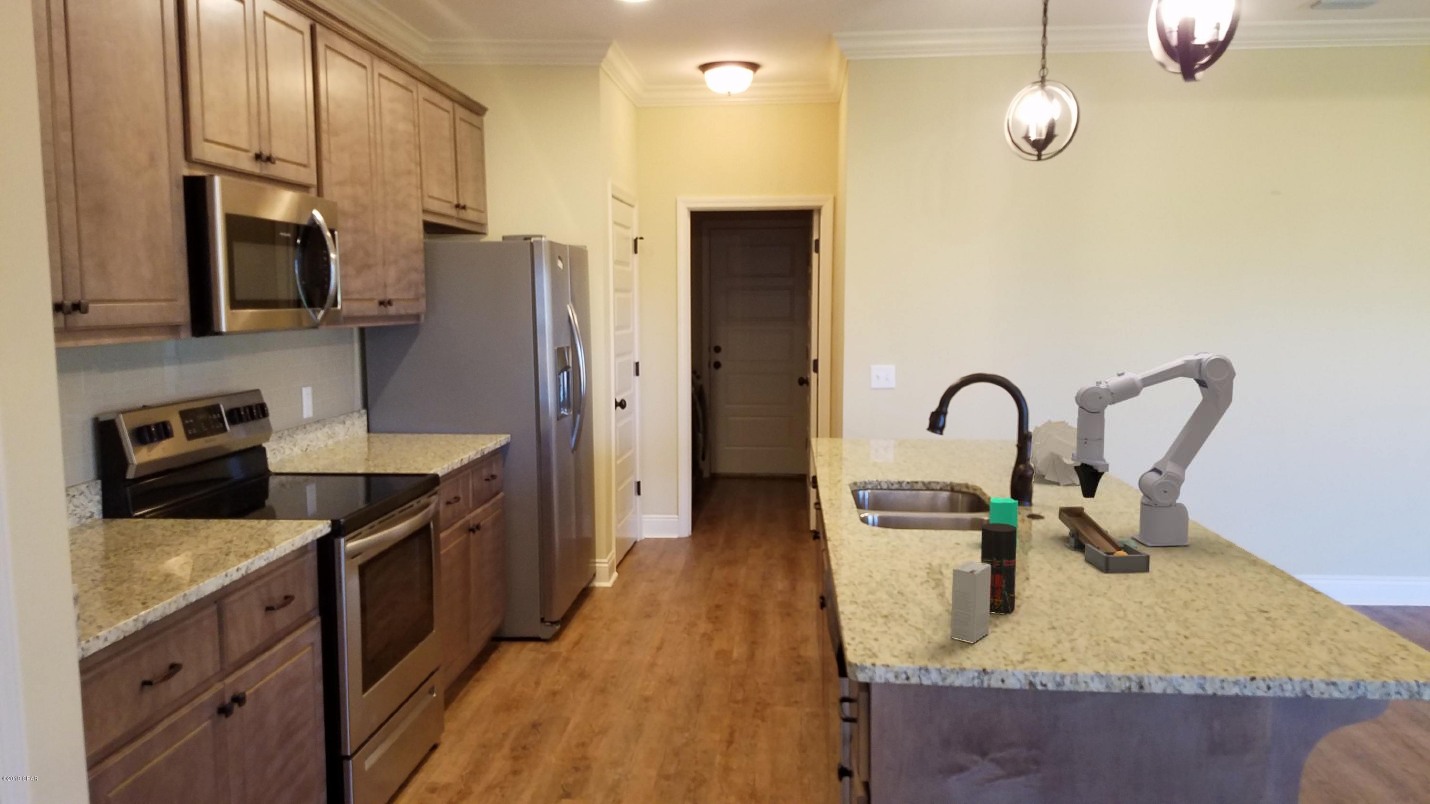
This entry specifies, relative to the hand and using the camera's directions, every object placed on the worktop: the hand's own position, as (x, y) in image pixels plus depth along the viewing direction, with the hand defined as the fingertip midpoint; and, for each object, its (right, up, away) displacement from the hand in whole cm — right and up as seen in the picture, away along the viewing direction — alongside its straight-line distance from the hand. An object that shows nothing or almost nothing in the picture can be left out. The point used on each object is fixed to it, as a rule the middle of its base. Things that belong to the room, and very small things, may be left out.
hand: (1088, 497), depth 205 cm
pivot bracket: (-2, -11, -5) cm, 12 cm away
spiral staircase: (+19, -2, +68) cm, 70 cm away
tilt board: (0, -8, -5) cm, 9 cm away
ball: (-2, -10, -20) cm, 23 cm away
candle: (-20, -11, -2) cm, 23 cm away
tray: (-2, -12, -18) cm, 22 cm away
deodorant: (-34, -16, -42) cm, 57 cm away
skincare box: (-43, -17, -56) cm, 72 cm away
